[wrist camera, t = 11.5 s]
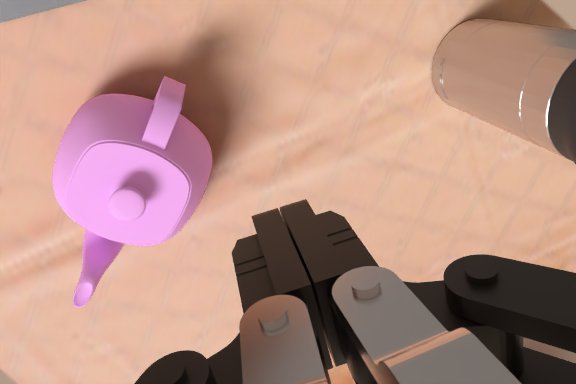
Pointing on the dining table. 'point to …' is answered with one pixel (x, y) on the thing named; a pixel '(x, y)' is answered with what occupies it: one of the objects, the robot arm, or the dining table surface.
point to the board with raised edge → (29, 7)
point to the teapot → (129, 175)
